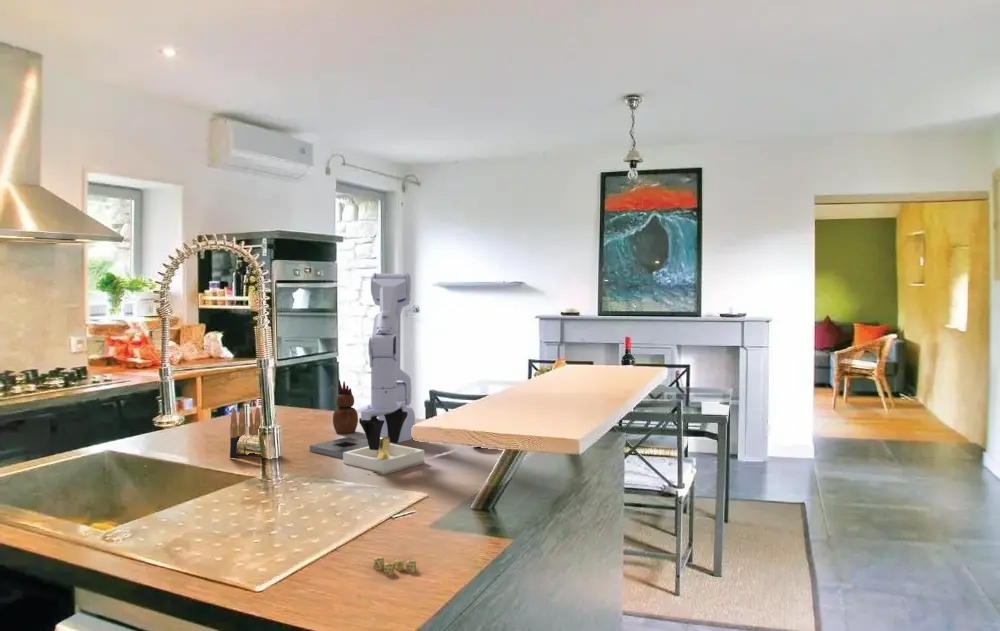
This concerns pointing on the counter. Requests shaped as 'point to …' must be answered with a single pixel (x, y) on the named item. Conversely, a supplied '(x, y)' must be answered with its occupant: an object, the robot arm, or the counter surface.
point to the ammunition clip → (242, 431)
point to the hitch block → (338, 446)
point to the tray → (398, 459)
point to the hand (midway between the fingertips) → (384, 446)
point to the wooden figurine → (345, 411)
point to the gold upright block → (384, 448)
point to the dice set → (390, 566)
